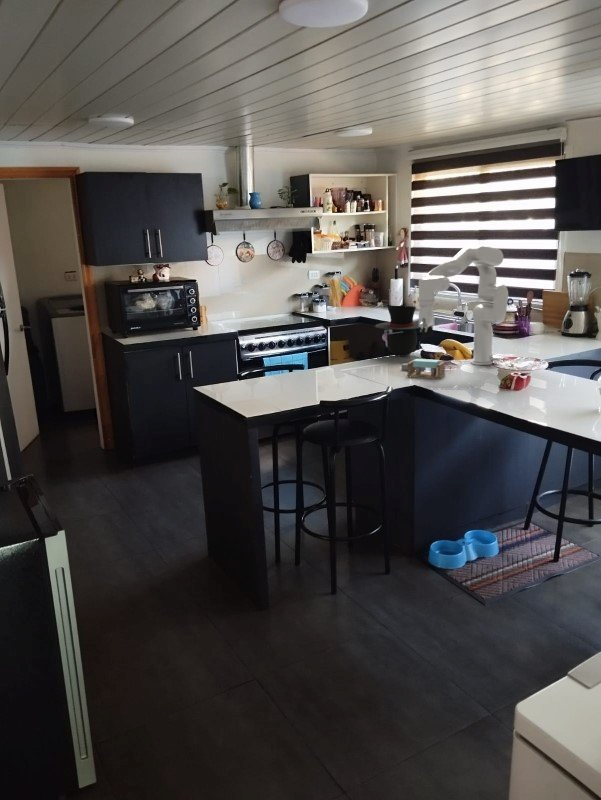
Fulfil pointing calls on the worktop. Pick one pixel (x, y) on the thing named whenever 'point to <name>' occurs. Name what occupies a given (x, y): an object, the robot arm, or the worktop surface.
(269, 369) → the worktop surface
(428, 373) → the peg cradle
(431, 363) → the shelf board
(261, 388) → the worktop surface
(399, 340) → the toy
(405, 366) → the riser
